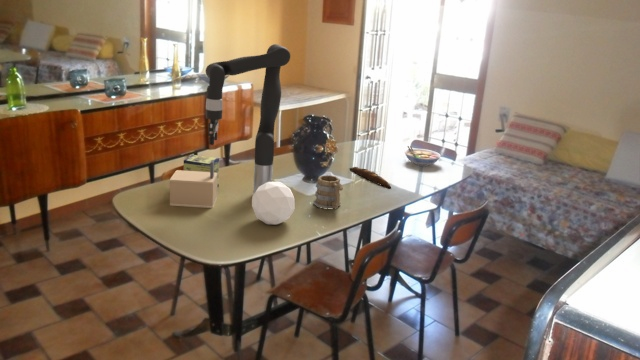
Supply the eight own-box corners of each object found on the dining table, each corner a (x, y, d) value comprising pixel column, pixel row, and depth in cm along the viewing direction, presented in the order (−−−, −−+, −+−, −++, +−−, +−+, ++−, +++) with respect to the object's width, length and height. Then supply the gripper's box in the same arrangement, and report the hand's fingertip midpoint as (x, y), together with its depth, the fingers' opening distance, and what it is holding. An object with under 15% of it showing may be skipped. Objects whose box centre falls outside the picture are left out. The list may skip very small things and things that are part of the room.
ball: (268, 240, 251) (251, 215, 236) (257, 210, 264) (239, 184, 250) (306, 221, 251) (291, 194, 236) (292, 191, 265) (277, 165, 250)
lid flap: (217, 174, 274) (217, 157, 271) (212, 183, 260) (213, 166, 257) (176, 171, 273) (176, 154, 270) (169, 181, 259) (169, 163, 256)
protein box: (211, 193, 282) (212, 163, 277) (183, 188, 285) (182, 159, 280) (219, 186, 292) (219, 158, 287) (191, 182, 295) (191, 154, 290)
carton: (217, 197, 277) (217, 174, 273) (212, 207, 264) (212, 184, 260) (176, 194, 276) (176, 171, 272) (170, 205, 263) (169, 181, 259)
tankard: (310, 201, 282) (312, 173, 277) (333, 199, 287) (335, 171, 282) (326, 216, 264) (328, 186, 260) (350, 214, 269) (353, 185, 265)
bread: (394, 189, 310) (395, 180, 308) (387, 190, 307) (388, 181, 306) (352, 169, 339) (353, 161, 337) (346, 170, 336) (346, 162, 335)
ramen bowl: (442, 171, 346) (444, 159, 343) (405, 169, 346) (407, 156, 343) (435, 160, 370) (437, 148, 367) (401, 157, 369) (402, 145, 367)
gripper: (219, 112, 250) (218, 147, 255) (224, 105, 263) (223, 139, 268) (203, 110, 249) (202, 145, 254) (208, 104, 263) (207, 137, 268)
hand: (213, 142), depth 261 cm, fingers open, 8 cm apart
